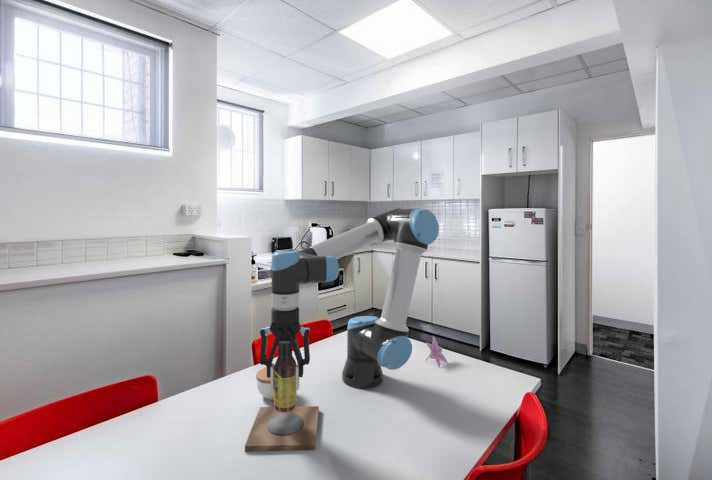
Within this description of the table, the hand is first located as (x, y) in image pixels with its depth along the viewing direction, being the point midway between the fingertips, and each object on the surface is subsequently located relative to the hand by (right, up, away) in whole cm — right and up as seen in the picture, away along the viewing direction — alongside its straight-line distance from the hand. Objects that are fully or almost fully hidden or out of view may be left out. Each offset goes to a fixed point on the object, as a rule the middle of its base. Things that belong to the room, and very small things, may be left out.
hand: (285, 387), depth 99 cm
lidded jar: (-8, -11, +20) cm, 24 cm away
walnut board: (0, -12, +1) cm, 12 cm away
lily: (+53, -10, +47) cm, 71 cm away
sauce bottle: (0, -6, 0) cm, 6 cm away
